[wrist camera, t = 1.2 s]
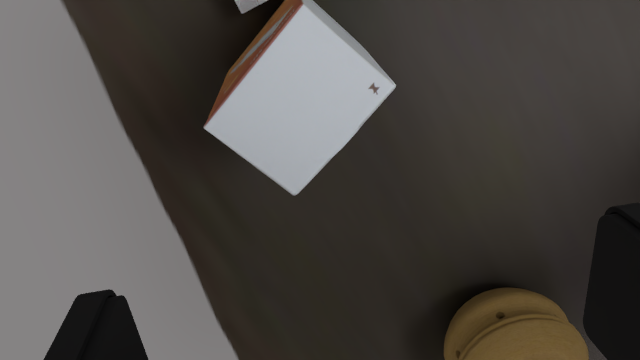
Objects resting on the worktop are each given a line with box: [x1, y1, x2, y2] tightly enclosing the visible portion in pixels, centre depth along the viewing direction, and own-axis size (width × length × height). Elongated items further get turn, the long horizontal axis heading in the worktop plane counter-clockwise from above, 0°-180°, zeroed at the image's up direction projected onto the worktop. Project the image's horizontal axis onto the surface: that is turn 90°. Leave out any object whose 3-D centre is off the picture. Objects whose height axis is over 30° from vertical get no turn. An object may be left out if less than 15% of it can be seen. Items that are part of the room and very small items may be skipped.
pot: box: [444, 287, 589, 360], centre depth 44 cm, size 12×12×10 cm
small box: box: [204, 0, 396, 195], centre depth 30 cm, size 8×6×13 cm
